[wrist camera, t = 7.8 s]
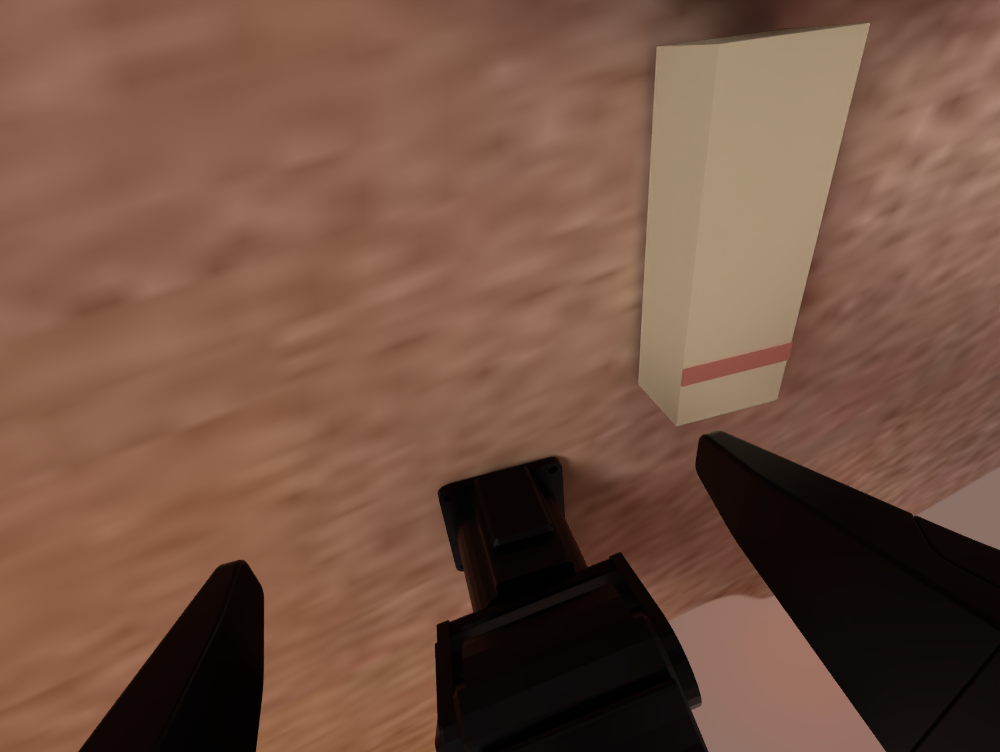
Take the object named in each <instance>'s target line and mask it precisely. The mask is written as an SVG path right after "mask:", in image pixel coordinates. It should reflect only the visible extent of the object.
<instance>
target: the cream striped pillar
mask: <svg viewBox="0 0 1000 752" xmlns="http://www.w3.org/2000/svg"><path fill="white" fill-rule="evenodd" d="M869 27H870V23H860V24H846V25H832V26H817V27H803V28H788V29H780V30H773V31H766V32H758V33H751V34H744V35H737V36H730V37H722V38H715V39H708V40H701V41H694V42H686V43H679V44H672V45H665V46H658V47H657V51H656V70H655V88H654V106H653V124H652V142H651V160H650V179H649V197H648V215H647V233H646V251H645V269H644V288H643V306H642V324H641V342H640V360H639V378H638V384H639V386H640V387H641V388H642V389H643V390H644V391H645V392H646V393H647V394H648V396H649V397H650V398H651V399H652V400H653V401H654V402H655V403H656V405H657V406H658V407H659V408H660V409H661V410H662V411H663V412H664V414H665V415H666V416H667V417H668V418H669V419H670V420H671V421H672V422H673V424H674V425H675V426H676V427H677V426H680V425H684V424H688V423H692V422H696V421H699V420H703V419H707V418H711V417H714V416H718V415H722V414H726V413H730V412H733V411H737V410H741V409H745V408H748V407H752V406H756V405H760V404H764V403H767V402H771V401H775V400H777V398H778V394H779V390H780V386H781V382H782V378H783V374H784V370H785V366H786V362H787V360H789V358H790V354H791V350H792V346H793V343H791V342H792V338H793V334H794V330H795V326H796V322H797V318H798V314H799V310H800V305H801V301H802V297H803V293H804V289H805V285H806V281H807V277H808V273H809V269H810V265H811V261H812V257H813V253H814V249H815V245H816V241H817V237H818V233H819V229H820V225H821V221H822V217H823V213H824V209H825V205H826V200H827V196H828V192H829V188H830V184H831V180H832V176H833V172H834V168H835V164H836V160H837V156H838V152H839V148H840V144H841V140H842V136H843V132H844V128H845V124H846V120H847V116H848V112H849V108H850V104H851V100H852V96H853V91H854V87H855V83H856V79H857V75H858V71H859V67H860V63H861V59H862V55H863V51H864V47H865V43H866V39H867V35H868V31H869Z"/></svg>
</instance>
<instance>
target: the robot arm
mask: <svg viewBox="0 0 1000 752" xmlns="http://www.w3.org/2000/svg"><path fill="white" fill-rule="evenodd" d="M552 466H554V467H552ZM550 467H552V468H550ZM696 471H697V474H698V476H699V478H700V479H701V481H702V483H703V485H704V487H705V488H706V490H707V492H708V494H709V495H710V497H711V499H712V501H713V502H714V504H715V506H716V508H717V509H718V511H719V513H720V515H721V517H722V518H723V520H724V522H725V524H726V525H727V527H728V529H729V530H730V532H731V534H732V535H733V537H734V539H735V540H736V542H737V543H738V545H739V546H740V547H741V549H742V550H743V552H744V553H745V555H746V556H747V557H748V559H749V560H750V562H751V563H752V564H753V566H754V567H755V569H756V570H757V571H758V573H759V574H760V576H761V577H762V578H763V580H764V581H765V583H766V584H767V585H768V587H769V588H770V590H771V591H772V592H773V594H774V595H775V597H776V598H777V599H778V601H779V602H780V604H781V605H782V606H783V608H784V609H785V611H786V612H787V613H788V614H789V616H790V618H791V619H792V620H793V622H794V623H795V624H796V626H797V627H798V629H799V630H800V632H801V633H802V634H803V636H804V637H805V639H806V640H807V641H808V643H809V644H810V646H811V647H812V648H813V650H814V651H815V653H816V654H817V655H818V657H819V658H820V660H821V661H822V662H823V664H824V665H825V667H826V668H827V669H828V671H829V672H830V674H831V675H832V676H833V678H834V679H835V681H836V682H837V683H838V685H839V686H840V688H841V689H842V690H843V692H844V693H845V694H846V696H847V697H848V699H849V700H850V702H851V703H852V704H853V706H854V707H855V709H856V710H857V711H858V713H859V714H860V716H861V717H862V719H863V720H864V721H865V723H866V724H867V726H868V727H869V728H870V730H871V731H872V732H873V734H874V735H875V737H876V738H877V740H878V741H879V742H880V744H881V745H882V746H883V748H884V749H885V751H886V752H1000V550H998V549H996V548H993V547H991V546H988V545H985V544H983V543H980V542H978V541H975V540H973V539H971V538H968V537H966V536H963V535H961V534H958V533H956V532H954V531H951V530H949V529H947V528H944V527H942V526H939V525H937V524H935V523H932V522H930V521H928V520H925V519H923V518H921V517H918V516H914V517H913V515H912V514H911V513H909V512H907V511H905V510H902V509H900V508H898V507H895V506H893V505H891V504H889V503H886V502H884V501H882V500H879V499H877V498H875V497H872V496H870V495H868V494H866V493H863V492H861V491H859V490H856V489H854V488H852V487H849V486H847V485H845V484H843V483H840V482H838V481H836V480H833V479H831V478H829V477H826V476H824V475H822V474H820V473H817V472H815V471H813V470H810V469H808V468H806V467H803V466H801V465H799V464H797V463H794V462H792V461H790V460H787V459H785V458H783V457H780V456H778V455H776V454H774V453H771V452H769V451H767V450H764V449H762V448H760V447H757V446H755V445H753V444H751V443H748V442H746V441H744V440H741V439H739V438H737V437H734V436H732V435H730V434H728V433H725V432H723V431H715V432H711V433H707V434H704V435H702V436H701V437H700V438H699V443H698V449H697V456H696ZM447 494H451V495H449V496H445V495H447ZM438 497H439V502H440V506H441V510H442V514H443V518H444V522H445V526H446V530H447V534H448V537H449V541H450V545H451V549H452V553H453V557H454V561H455V565H456V568H457V570H458V571H464V573H465V578H466V582H467V587H468V591H469V595H470V600H471V604H472V609H473V613H471V614H468V615H466V616H463V617H461V618H458V619H456V620H453V621H451V622H450V621H449V620H447V621H445V622H442V623H440V624H437V643H435V660H436V687H437V714H438V719H437V728H436V736H435V747H436V752H708V750H707V747H706V745H705V743H704V740H703V738H702V735H701V733H700V730H699V728H698V726H697V723H696V721H695V718H694V716H693V714H692V711H691V710H692V709H695V708H697V707H699V706H701V702H702V701H701V695H700V692H699V688H698V685H697V682H696V680H695V677H694V674H693V671H692V669H691V666H690V664H689V661H688V659H687V657H686V655H685V653H684V651H683V649H682V646H681V644H680V642H679V640H678V638H677V636H676V635H675V633H674V631H673V629H672V627H671V626H670V624H669V622H668V620H667V619H666V617H665V616H664V614H663V613H662V611H661V610H660V608H659V607H658V605H657V604H656V603H655V601H654V600H653V598H652V597H651V595H650V594H649V592H648V591H647V590H646V588H645V587H644V585H643V584H642V582H641V581H640V579H639V578H638V577H637V575H636V574H635V572H634V571H633V569H632V568H631V566H630V565H629V564H628V562H627V561H626V559H625V558H624V556H623V555H622V553H621V552H619V553H617V554H614V555H612V556H609V559H607V560H605V561H602V562H600V563H597V564H595V565H592V566H590V567H588V566H587V564H586V562H585V560H584V558H583V556H582V554H581V552H580V549H579V547H578V545H577V543H576V541H575V539H574V537H573V535H572V533H571V530H570V528H569V526H568V524H567V522H566V520H565V514H564V495H563V476H562V466H561V464H560V462H559V460H558V459H557V458H554V457H552V458H547V459H543V460H539V461H536V462H532V463H528V464H524V465H520V466H517V467H513V468H509V469H505V470H501V471H498V472H494V473H490V474H486V475H483V476H479V477H475V478H471V479H467V480H464V481H460V482H456V483H452V484H448V485H445V486H443V487H441V488H440V489H439V491H438ZM263 680H264V593H263V589H262V586H261V584H260V583H259V581H258V579H257V578H256V576H255V575H254V573H253V571H252V570H251V568H250V567H249V565H248V564H247V562H246V561H244V560H237V561H233V562H229V563H226V564H222V565H220V566H219V567H217V568H216V569H215V571H214V572H213V573H212V575H211V576H210V577H209V579H208V580H207V581H206V583H205V584H204V585H203V587H202V588H201V589H200V591H199V592H198V593H197V595H196V596H195V597H194V599H193V600H192V601H191V603H190V604H189V605H188V606H187V608H186V609H185V610H184V612H183V613H182V614H181V616H180V617H179V618H178V620H177V621H176V622H175V624H174V625H173V626H172V628H171V629H170V630H169V632H168V633H167V634H166V636H165V637H164V638H163V640H162V641H161V642H160V644H159V645H158V646H157V648H156V649H155V650H154V652H153V653H152V654H151V656H150V657H149V658H148V660H147V661H146V662H145V664H144V665H143V666H142V668H141V669H140V670H139V672H138V673H137V674H136V676H135V677H134V678H133V680H132V681H131V682H130V684H129V685H128V686H127V688H126V689H125V690H124V691H123V693H122V694H121V695H120V697H119V698H118V699H117V701H116V702H115V703H114V705H113V706H112V707H111V709H110V710H109V711H108V713H107V714H106V715H105V717H104V718H103V719H102V721H101V722H100V723H99V725H98V726H97V727H96V729H95V730H94V731H93V733H92V734H91V735H90V737H89V738H88V739H87V741H86V742H85V743H84V745H83V746H82V747H81V749H80V750H79V751H78V752H256V746H257V737H258V729H259V720H260V712H261V703H262V693H263Z"/></svg>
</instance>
